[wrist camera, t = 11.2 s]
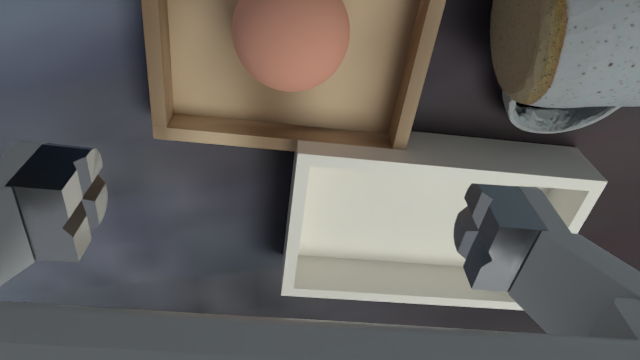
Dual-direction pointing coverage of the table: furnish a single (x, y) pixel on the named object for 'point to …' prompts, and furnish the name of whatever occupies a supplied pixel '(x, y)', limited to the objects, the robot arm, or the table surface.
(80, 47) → the table surface
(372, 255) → the white storage bin
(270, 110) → the tray
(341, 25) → the ball
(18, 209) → the robot arm
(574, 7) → the ceramic mug
